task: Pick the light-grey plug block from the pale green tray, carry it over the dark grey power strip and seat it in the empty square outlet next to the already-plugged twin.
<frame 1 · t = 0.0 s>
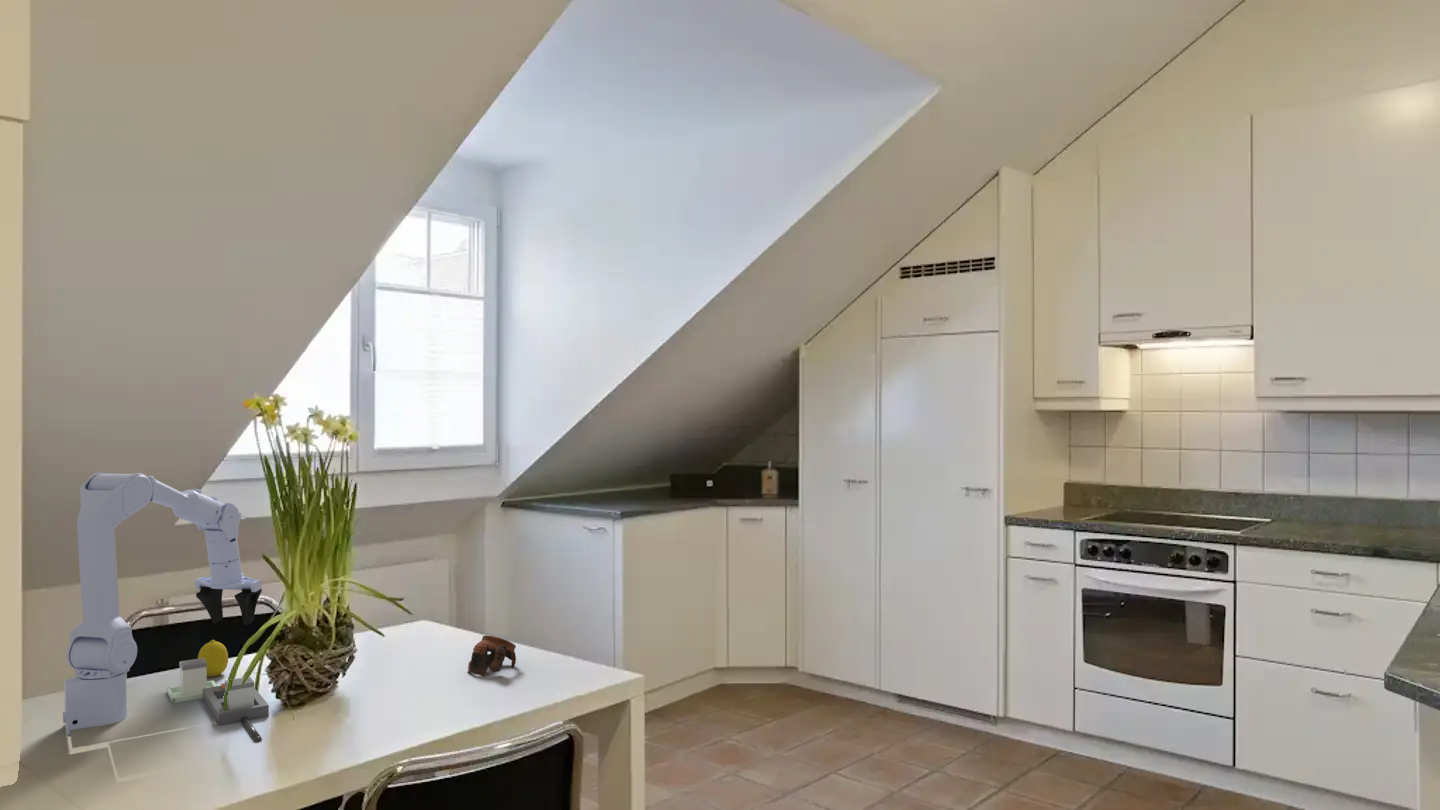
hand: (233, 622, 202), 11 cm above the table, tool pointing down, fingers open, 7 cm apart
power strip: (234, 710, 178), on the table
tray: (193, 697, 186), on the table
lemon: (213, 680, 198), on the table
plug: (193, 693, 186), point 1 cm above the table, touching tray
brown belt with pouches: (493, 672, 202), on the table
twin plug: (239, 714, 174), resting on power strip
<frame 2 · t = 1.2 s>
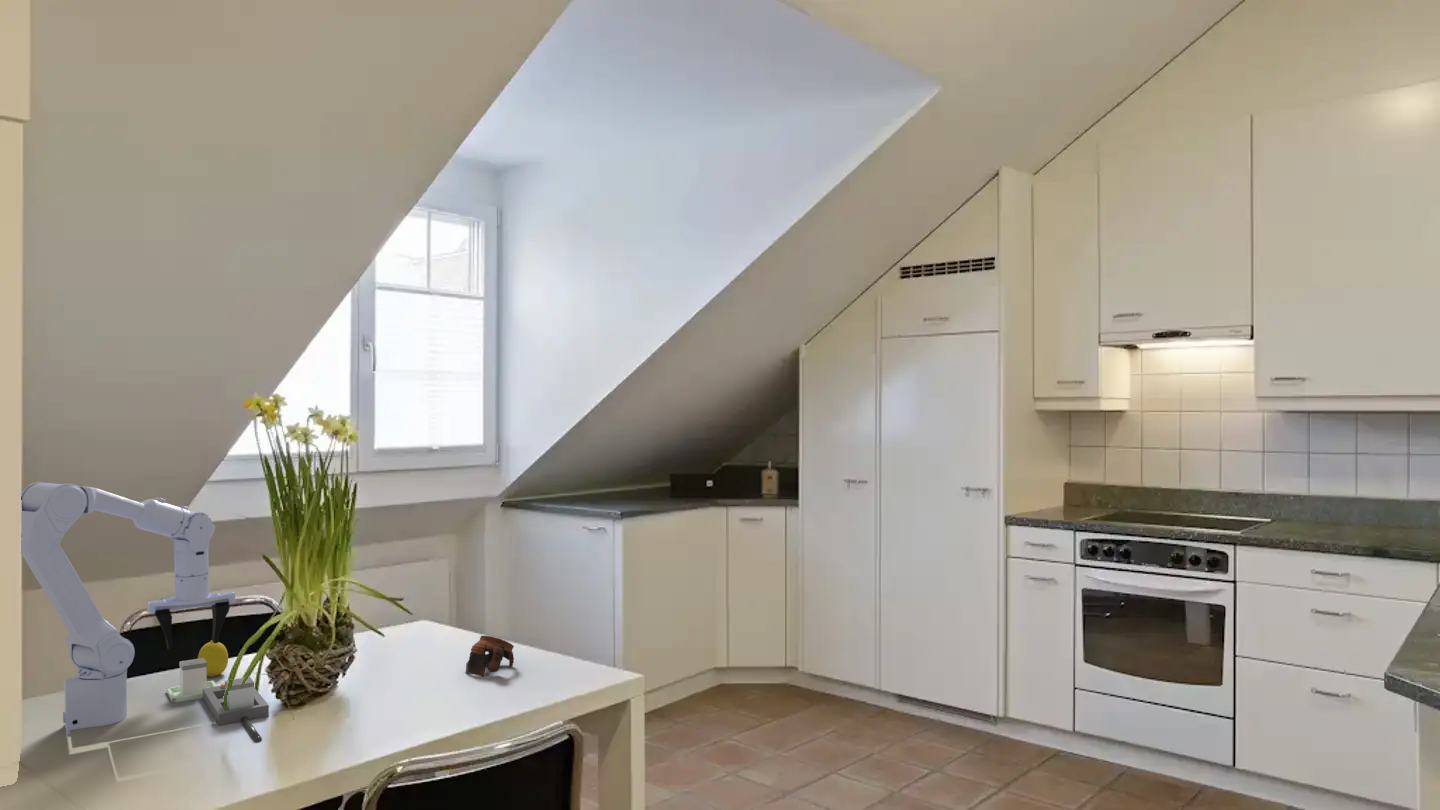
hand: (192, 645, 186), 10 cm above the table, tool pointing down, fingers open, 7 cm apart
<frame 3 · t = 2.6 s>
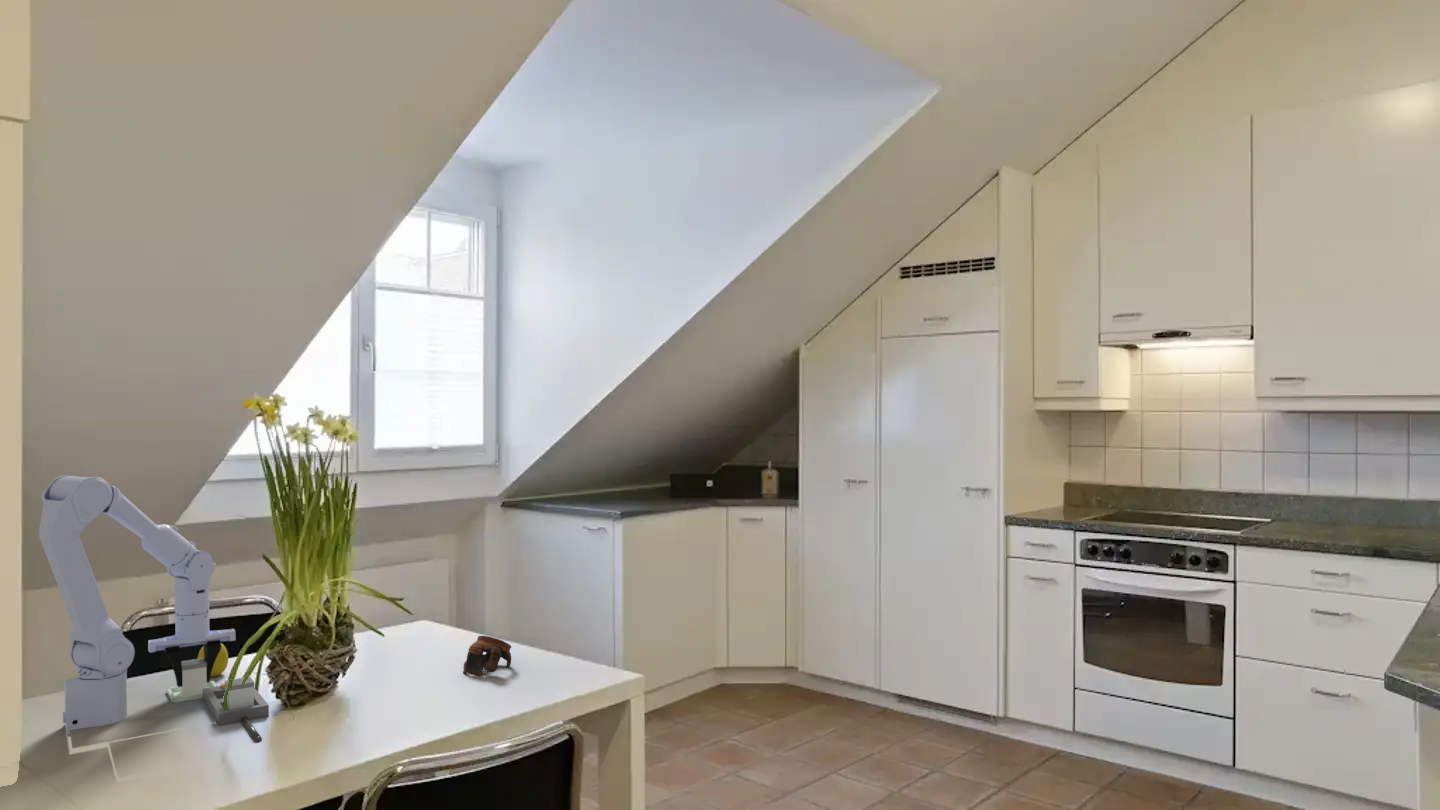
hand: (193, 683, 186), 3 cm above the table, tool pointing down, fingers closed on plug, 4 cm apart
plug: (193, 693, 186), point 1 cm above the table, touching gripper, tray
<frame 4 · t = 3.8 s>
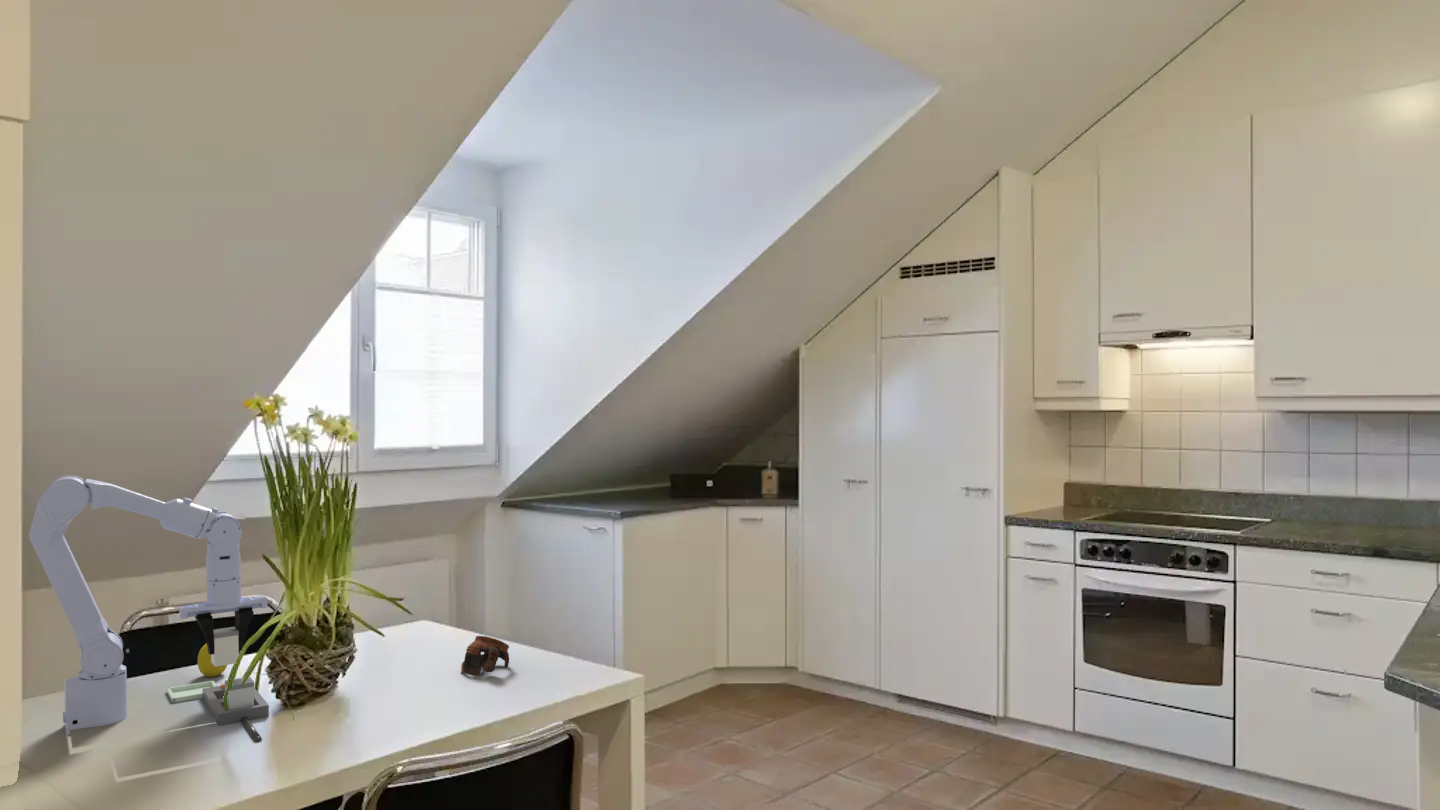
hand: (225, 651, 181), 10 cm above the table, tool pointing down, fingers closed on plug, 4 cm apart
plug: (225, 662, 182), point 8 cm above the table, touching gripper
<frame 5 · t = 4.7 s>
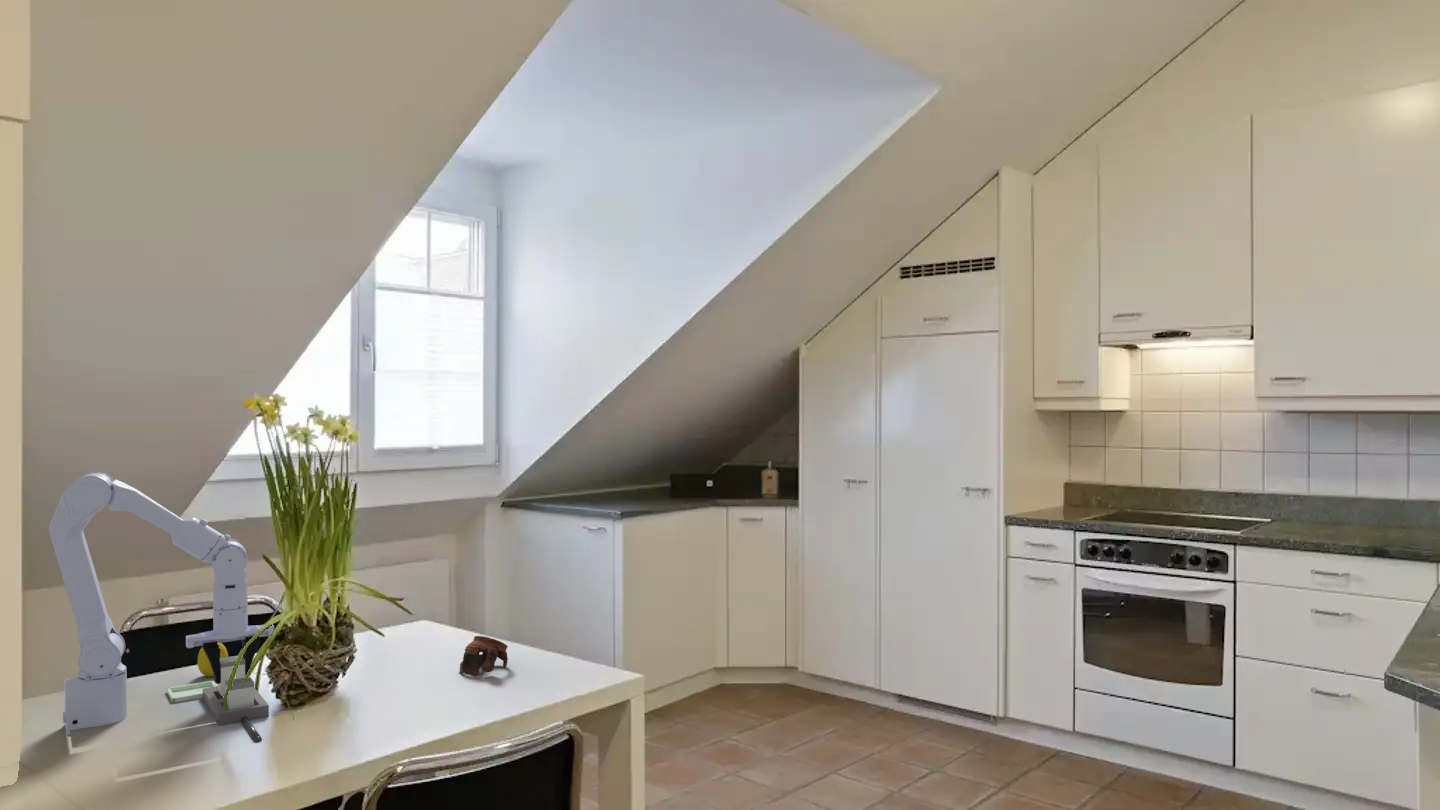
hand: (231, 680, 180), 5 cm above the table, tool pointing down, fingers closed on plug, 4 cm apart
plug: (231, 691, 181), point 3 cm above the table, touching gripper
when the fingers open (3 cm above the table, at t = 5.4 s): plug stays where it is, resting on power strip.
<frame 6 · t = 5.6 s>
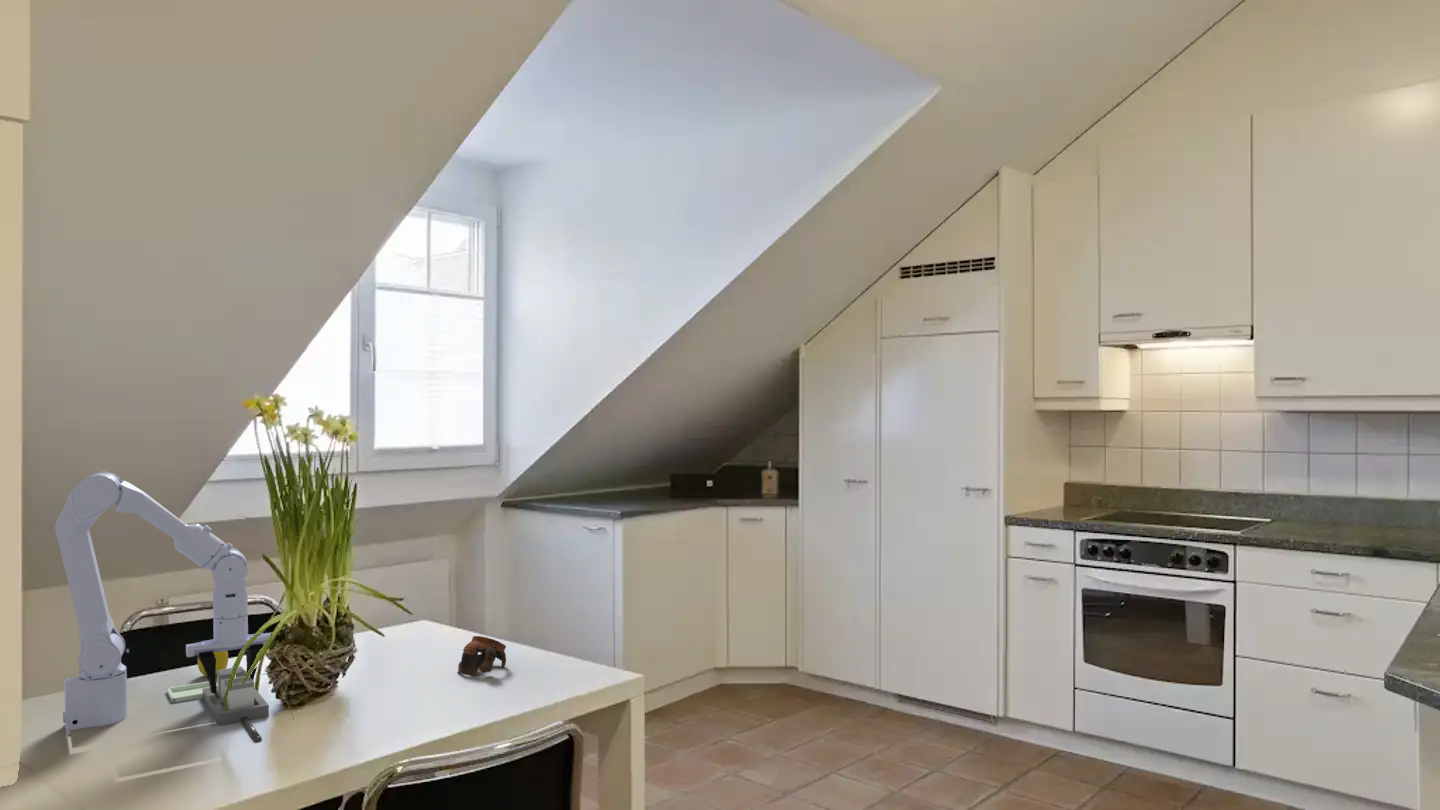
hand: (231, 688, 181), 3 cm above the table, tool pointing down, fingers open, 5 cm apart
plug: (231, 702, 181), resting on power strip
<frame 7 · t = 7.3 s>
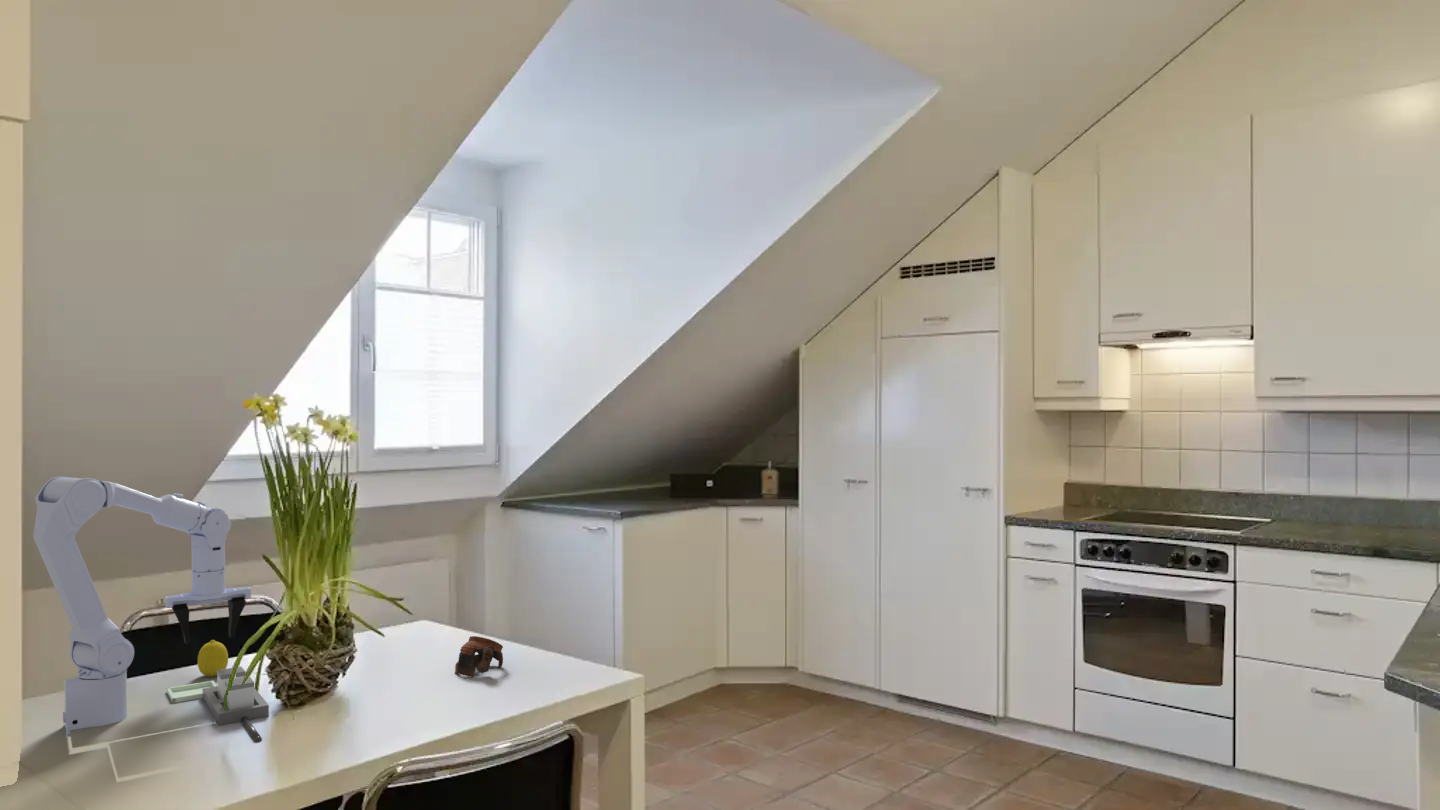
hand: (209, 639, 188), 10 cm above the table, tool pointing down, fingers open, 7 cm apart
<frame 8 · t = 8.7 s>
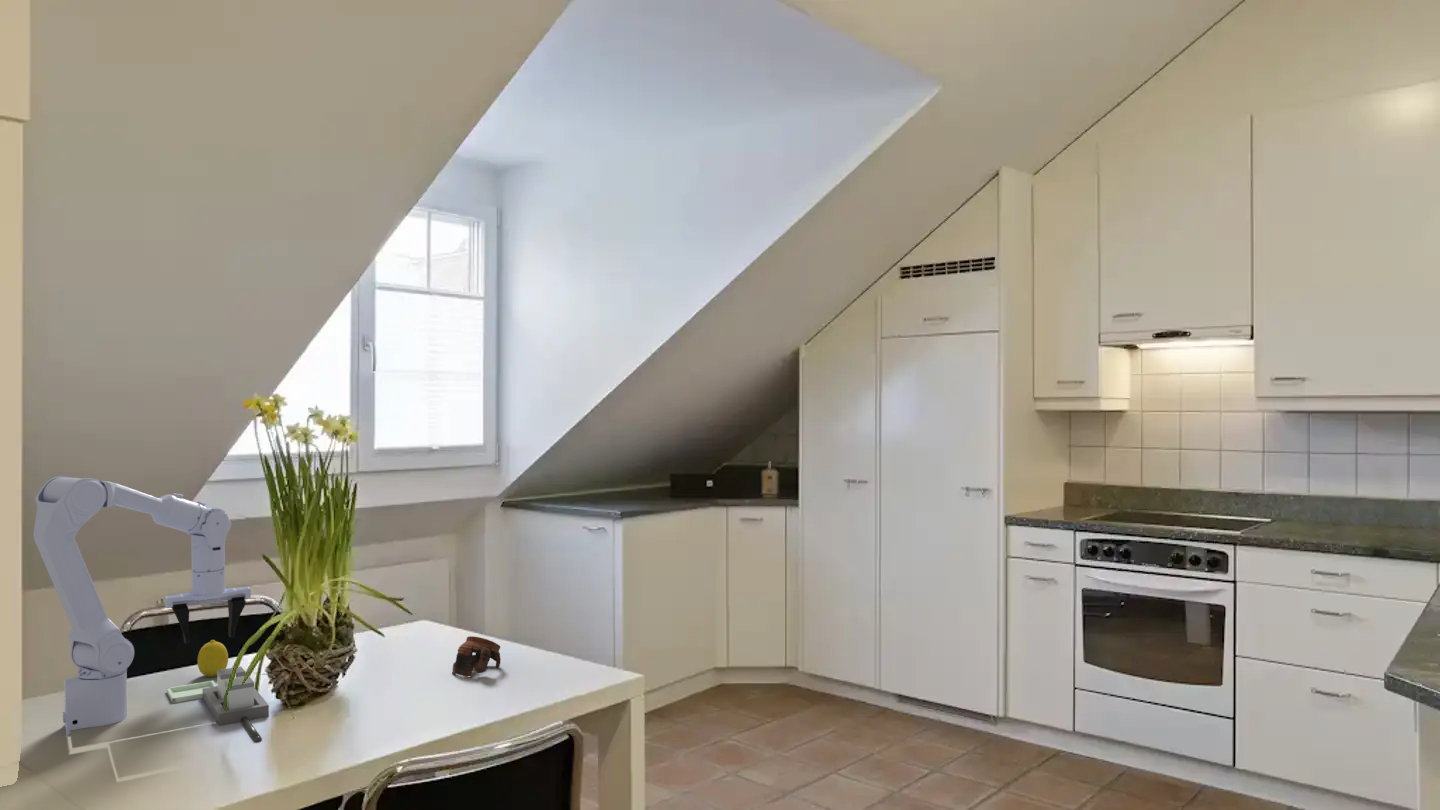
hand: (209, 639, 188), 10 cm above the table, tool pointing down, fingers open, 7 cm apart
at the end: plug 0.3 cm from the target spot on the power strip, point 0.5 cm above the power strip's base; plug tilted 0°; the gripper is holding nothing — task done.
